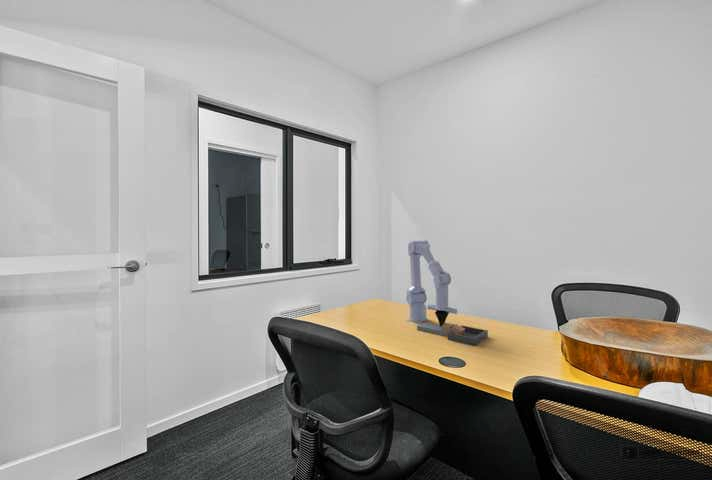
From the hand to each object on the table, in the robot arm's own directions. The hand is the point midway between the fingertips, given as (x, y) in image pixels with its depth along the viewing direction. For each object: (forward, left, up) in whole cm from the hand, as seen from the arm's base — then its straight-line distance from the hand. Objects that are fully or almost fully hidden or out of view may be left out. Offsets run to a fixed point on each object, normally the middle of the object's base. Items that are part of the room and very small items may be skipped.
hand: (442, 326), depth 158 cm
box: (0, +13, -3) cm, 13 cm away
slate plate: (0, -2, -3) cm, 4 cm away
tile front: (0, +8, -1) cm, 8 cm away
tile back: (0, +3, -1) cm, 3 cm away
